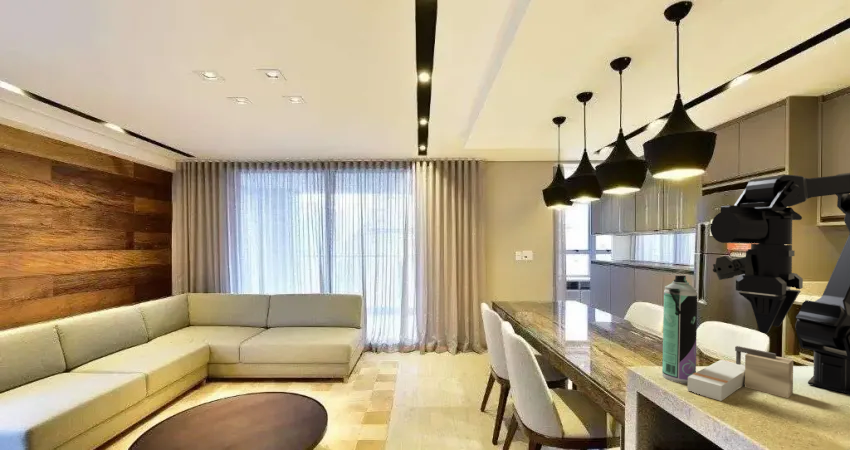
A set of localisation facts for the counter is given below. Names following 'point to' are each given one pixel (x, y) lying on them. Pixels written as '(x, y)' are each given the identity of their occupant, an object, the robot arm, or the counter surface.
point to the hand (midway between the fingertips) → (770, 329)
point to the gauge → (767, 371)
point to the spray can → (679, 330)
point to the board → (717, 380)
